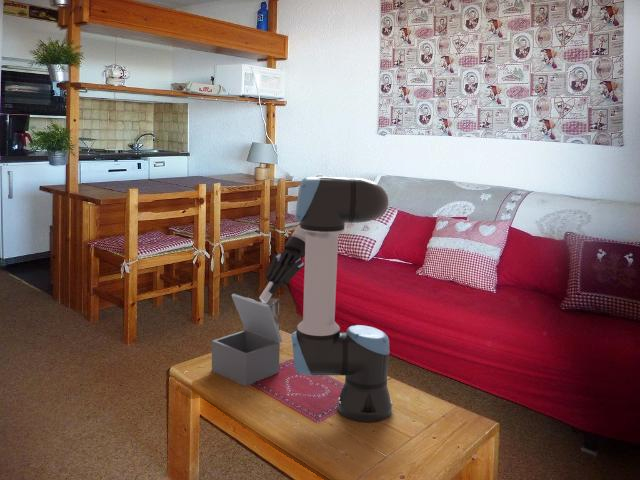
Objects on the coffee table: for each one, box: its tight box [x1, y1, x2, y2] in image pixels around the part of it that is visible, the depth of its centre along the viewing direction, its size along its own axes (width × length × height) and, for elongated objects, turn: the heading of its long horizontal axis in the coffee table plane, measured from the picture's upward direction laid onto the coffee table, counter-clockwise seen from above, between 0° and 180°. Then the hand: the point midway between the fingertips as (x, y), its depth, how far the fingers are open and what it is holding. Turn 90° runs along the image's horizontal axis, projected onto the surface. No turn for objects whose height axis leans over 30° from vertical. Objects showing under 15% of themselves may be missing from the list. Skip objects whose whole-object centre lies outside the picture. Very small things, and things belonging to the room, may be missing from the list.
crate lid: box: [231, 293, 283, 344], centre depth 194 cm, size 16×14×1 cm
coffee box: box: [257, 297, 281, 342], centre depth 215 cm, size 9×6×16 cm
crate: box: [211, 329, 281, 387], centre depth 193 cm, size 16×14×10 cm
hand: (262, 300), depth 194 cm, fingers closed
